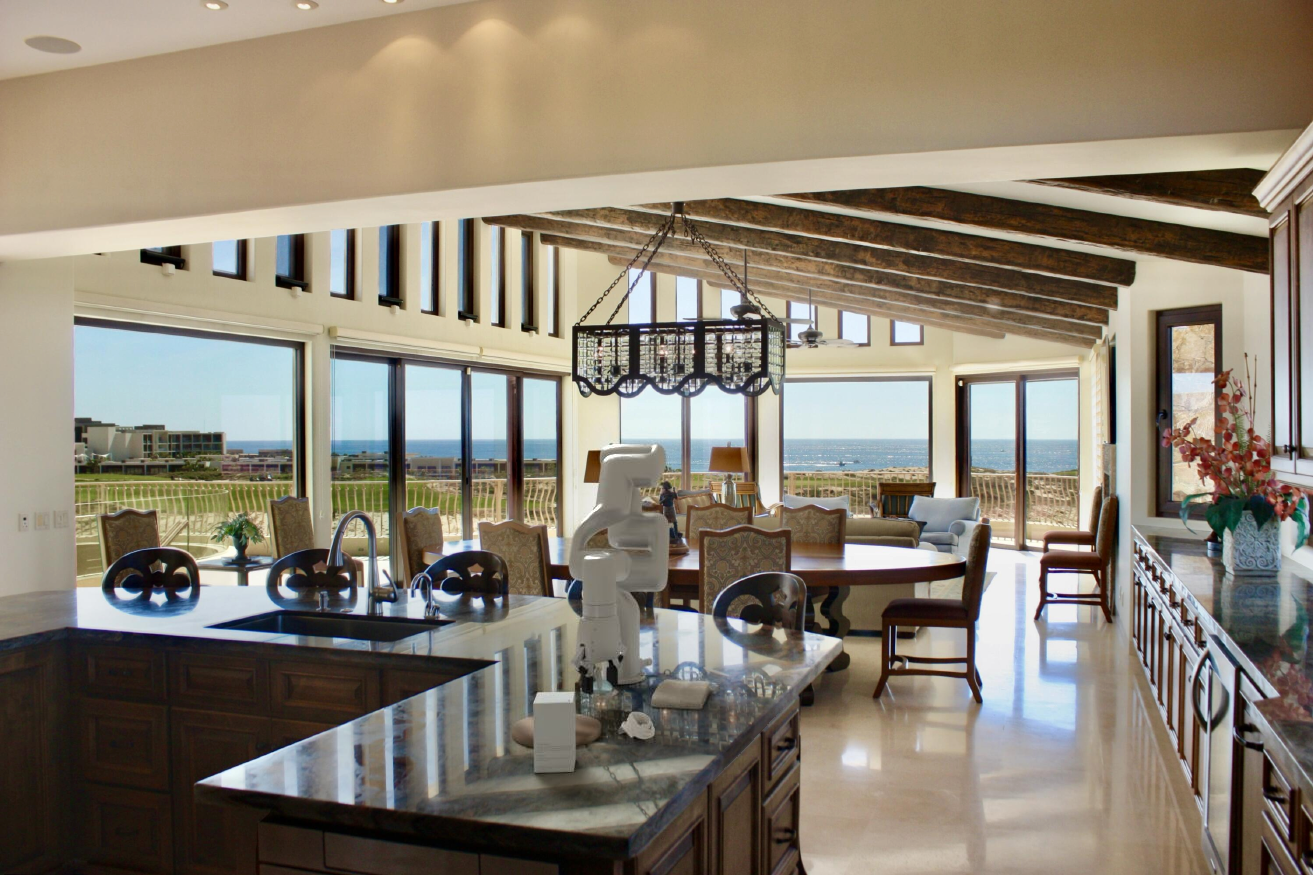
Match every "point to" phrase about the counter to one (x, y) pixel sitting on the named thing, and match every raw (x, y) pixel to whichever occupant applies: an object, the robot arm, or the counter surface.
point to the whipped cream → (638, 726)
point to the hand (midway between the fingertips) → (599, 688)
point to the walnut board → (584, 730)
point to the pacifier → (602, 685)
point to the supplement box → (554, 732)
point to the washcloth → (681, 694)
